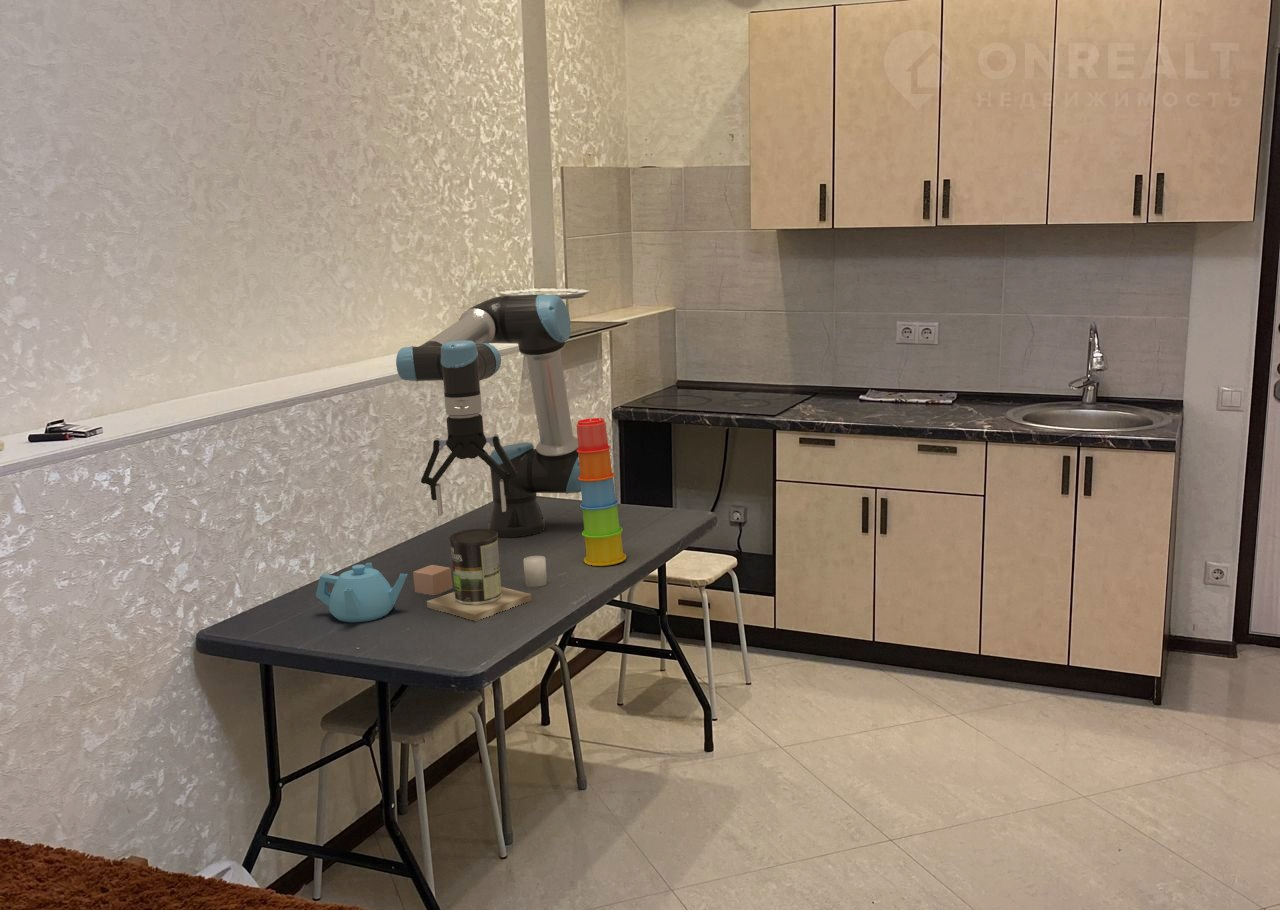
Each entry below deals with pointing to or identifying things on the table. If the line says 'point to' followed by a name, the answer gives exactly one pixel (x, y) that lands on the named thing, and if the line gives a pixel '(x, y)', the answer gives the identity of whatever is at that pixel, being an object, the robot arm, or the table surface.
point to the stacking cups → (598, 495)
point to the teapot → (359, 594)
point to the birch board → (479, 611)
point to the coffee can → (476, 566)
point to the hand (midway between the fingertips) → (472, 512)
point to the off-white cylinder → (535, 571)
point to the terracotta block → (432, 579)
